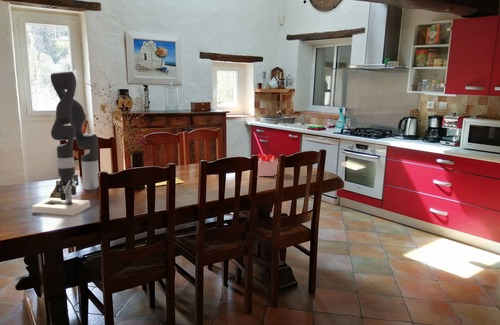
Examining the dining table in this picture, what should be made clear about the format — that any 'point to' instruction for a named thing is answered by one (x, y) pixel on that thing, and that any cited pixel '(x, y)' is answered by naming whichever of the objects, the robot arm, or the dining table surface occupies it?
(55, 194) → the rock
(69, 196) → the bolt
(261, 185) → the dining table surface
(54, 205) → the keyhole board
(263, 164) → the cake
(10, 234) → the dining table surface
